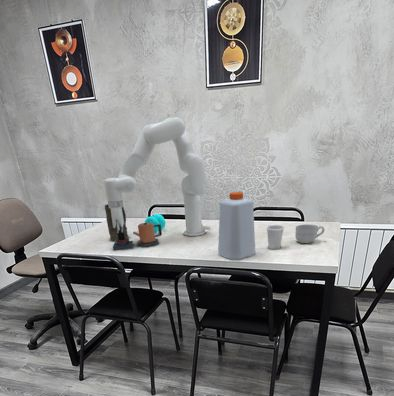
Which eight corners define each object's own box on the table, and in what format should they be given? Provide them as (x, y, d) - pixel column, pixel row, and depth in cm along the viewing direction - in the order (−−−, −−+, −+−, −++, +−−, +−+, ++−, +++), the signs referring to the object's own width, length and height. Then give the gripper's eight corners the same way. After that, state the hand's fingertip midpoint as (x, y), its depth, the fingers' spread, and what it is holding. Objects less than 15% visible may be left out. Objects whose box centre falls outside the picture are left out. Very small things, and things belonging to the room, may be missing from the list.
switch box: (133, 244, 192) (132, 237, 190) (132, 248, 185) (131, 241, 183) (115, 246, 192) (114, 239, 190) (113, 250, 185) (112, 243, 183)
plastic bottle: (214, 254, 168) (212, 193, 154) (238, 247, 175) (238, 188, 161) (234, 261, 158) (234, 197, 143) (258, 254, 165) (260, 191, 150)
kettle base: (158, 240, 196) (158, 237, 195) (158, 246, 186) (158, 243, 185) (138, 242, 195) (137, 239, 194) (137, 248, 185) (136, 245, 185)
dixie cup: (282, 244, 174) (284, 224, 169) (282, 250, 167) (284, 229, 162) (266, 244, 176) (266, 225, 171) (265, 250, 169) (266, 229, 164)
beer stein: (124, 241, 198) (118, 205, 188) (106, 241, 200) (100, 205, 191) (133, 236, 211) (129, 201, 202) (117, 236, 213) (112, 202, 204)
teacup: (293, 244, 174) (294, 228, 170) (295, 238, 182) (297, 223, 178) (322, 245, 169) (324, 229, 165) (323, 239, 178) (325, 223, 174)
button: (126, 241, 189) (126, 238, 188) (126, 243, 185) (125, 240, 185) (119, 242, 189) (118, 238, 188) (118, 244, 185) (118, 240, 184)
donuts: (167, 230, 214) (165, 213, 209) (158, 234, 207) (156, 217, 202) (153, 229, 218) (151, 212, 213) (144, 233, 211) (142, 216, 206)
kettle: (158, 235, 197) (156, 218, 192) (165, 238, 191) (163, 221, 186) (131, 242, 189) (128, 224, 184) (138, 245, 183) (135, 227, 178)
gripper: (110, 202, 183) (116, 236, 192) (106, 207, 170) (113, 244, 180) (124, 201, 183) (129, 235, 193) (121, 206, 170) (127, 242, 180)
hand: (121, 239), depth 186 cm, fingers closed
